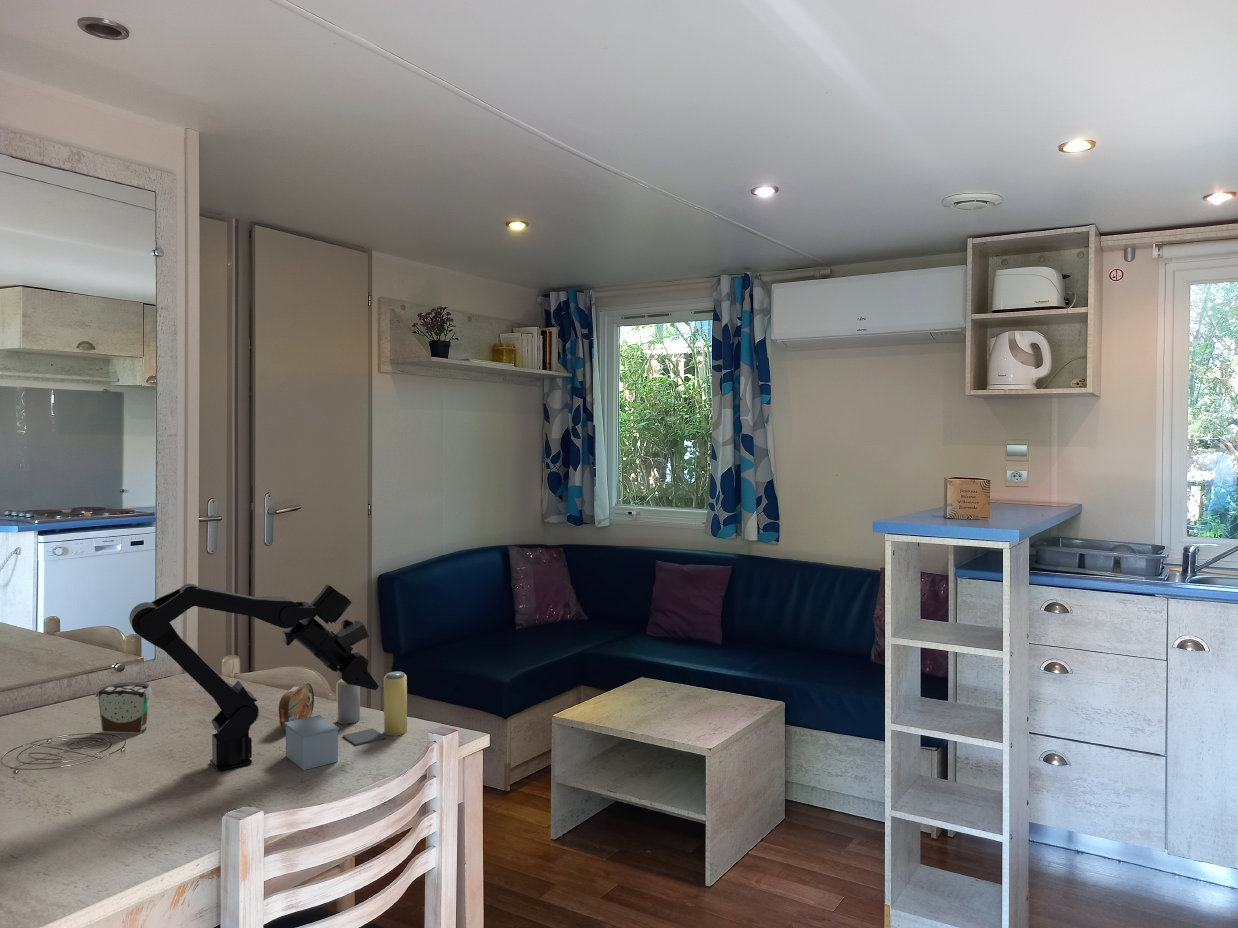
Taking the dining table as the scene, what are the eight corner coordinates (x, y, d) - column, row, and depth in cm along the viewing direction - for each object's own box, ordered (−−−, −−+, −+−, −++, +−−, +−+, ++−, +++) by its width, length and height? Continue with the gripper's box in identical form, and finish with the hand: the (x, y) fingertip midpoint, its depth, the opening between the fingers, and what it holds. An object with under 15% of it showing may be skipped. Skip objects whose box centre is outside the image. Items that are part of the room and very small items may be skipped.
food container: (164, 724, 197) (164, 681, 197) (147, 733, 191) (146, 689, 190) (114, 722, 198) (114, 680, 198) (95, 731, 192) (95, 687, 192)
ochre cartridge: (390, 736, 189) (389, 678, 188) (380, 731, 193) (379, 673, 192) (410, 731, 192) (410, 674, 192) (400, 726, 196) (400, 669, 195)
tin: (290, 734, 190) (289, 697, 190) (276, 734, 190) (275, 697, 190) (315, 713, 205) (315, 678, 205) (302, 713, 205) (302, 678, 205)
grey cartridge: (342, 725, 196) (342, 684, 196) (334, 720, 200) (333, 679, 200) (363, 721, 199) (363, 680, 199) (354, 715, 203) (354, 675, 203)
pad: (355, 745, 183) (355, 743, 183) (342, 736, 189) (342, 735, 189) (386, 738, 188) (386, 736, 188) (372, 729, 193) (372, 728, 193)
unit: (303, 770, 170) (302, 735, 169) (284, 755, 178) (284, 722, 177) (339, 761, 174) (339, 727, 174) (319, 747, 182) (319, 714, 182)
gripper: (357, 618, 178) (410, 662, 184) (333, 603, 193) (382, 645, 200) (319, 661, 174) (374, 705, 180) (297, 643, 189) (348, 684, 196)
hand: (370, 683), depth 189 cm, fingers open, 9 cm apart
